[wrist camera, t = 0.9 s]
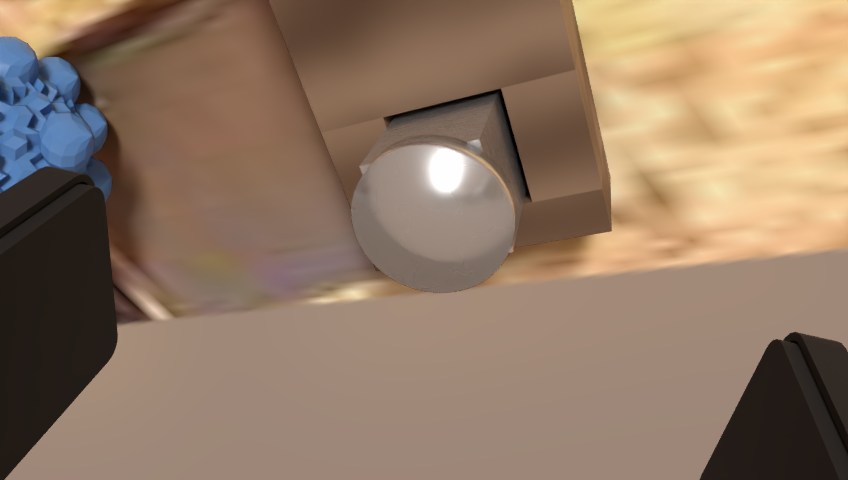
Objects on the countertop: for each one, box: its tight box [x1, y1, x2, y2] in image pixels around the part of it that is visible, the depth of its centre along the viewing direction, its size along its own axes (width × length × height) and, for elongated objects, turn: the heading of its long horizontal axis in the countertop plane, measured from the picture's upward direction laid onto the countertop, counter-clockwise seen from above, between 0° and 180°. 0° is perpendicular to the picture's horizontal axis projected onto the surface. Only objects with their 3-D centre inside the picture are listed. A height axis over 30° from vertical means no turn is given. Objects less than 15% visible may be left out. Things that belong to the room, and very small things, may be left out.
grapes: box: [0, 37, 113, 203], centre depth 37 cm, size 12×7×12 cm, turn 18°
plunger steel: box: [351, 89, 526, 293], centre depth 30 cm, size 6×6×7 cm
